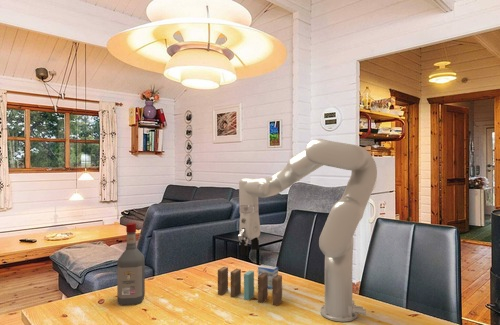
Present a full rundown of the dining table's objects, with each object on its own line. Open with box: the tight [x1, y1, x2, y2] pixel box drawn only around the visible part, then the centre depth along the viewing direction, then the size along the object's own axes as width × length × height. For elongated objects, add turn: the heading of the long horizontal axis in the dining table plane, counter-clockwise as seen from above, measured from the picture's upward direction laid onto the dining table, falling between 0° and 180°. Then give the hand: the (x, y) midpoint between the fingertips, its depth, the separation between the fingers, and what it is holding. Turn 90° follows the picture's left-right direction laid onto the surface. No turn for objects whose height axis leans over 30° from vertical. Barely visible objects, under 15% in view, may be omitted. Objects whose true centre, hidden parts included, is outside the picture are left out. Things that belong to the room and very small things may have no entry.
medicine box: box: [257, 264, 279, 290], centre depth 148 cm, size 8×4×9 cm, turn 62°
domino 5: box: [271, 274, 283, 307], centre depth 131 cm, size 2×5×10 cm, turn 154°
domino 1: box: [217, 266, 229, 296], centre depth 141 cm, size 2×5×10 cm, turn 154°
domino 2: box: [230, 268, 242, 299], centre depth 139 cm, size 2×5×10 cm, turn 154°
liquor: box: [116, 222, 146, 307], centre depth 133 cm, size 9×9×30 cm
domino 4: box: [257, 273, 269, 304], centre depth 134 cm, size 2×5×10 cm, turn 154°
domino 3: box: [243, 270, 255, 301], centre depth 136 cm, size 2×5×10 cm, turn 154°
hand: (249, 252), depth 136 cm, fingers open, 9 cm apart
